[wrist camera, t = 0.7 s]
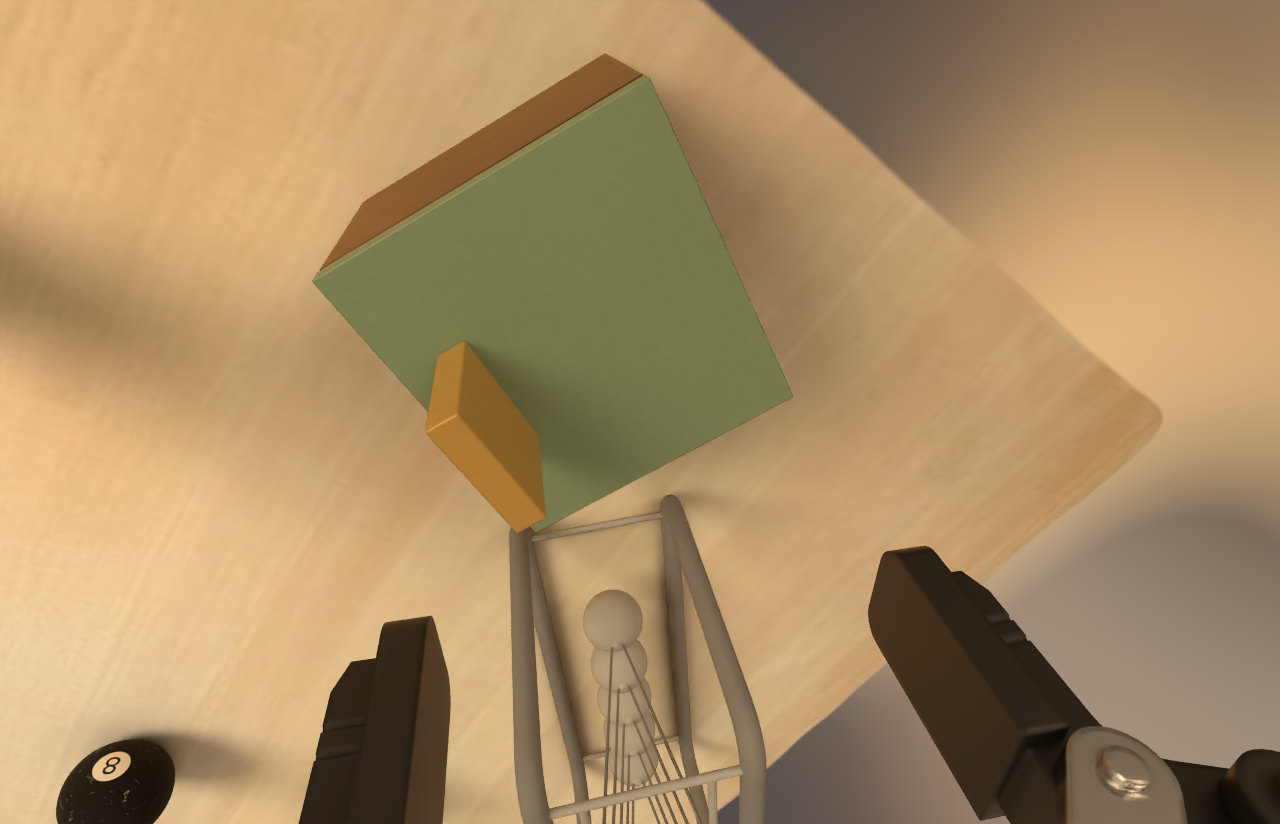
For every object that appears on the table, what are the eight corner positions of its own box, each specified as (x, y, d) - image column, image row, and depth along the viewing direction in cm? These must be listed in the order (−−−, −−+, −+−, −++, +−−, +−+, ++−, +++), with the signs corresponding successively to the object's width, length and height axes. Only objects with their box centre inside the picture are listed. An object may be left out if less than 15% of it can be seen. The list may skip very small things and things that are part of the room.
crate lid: (316, 272, 22) (266, 350, 17) (644, 74, 21) (688, 98, 16) (534, 521, 30) (541, 624, 25) (786, 387, 28) (846, 468, 23)
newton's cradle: (507, 508, 40) (513, 805, 25) (673, 478, 41) (772, 746, 27) (572, 770, 57) (599, 1043, 42) (690, 743, 58) (757, 1000, 43)
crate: (362, 202, 30) (318, 270, 22) (605, 52, 28) (643, 73, 21) (527, 414, 37) (534, 518, 30) (726, 305, 36) (784, 385, 28)
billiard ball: (184, 720, 45) (145, 811, 40) (192, 771, 48) (157, 861, 43) (79, 722, 43) (25, 817, 38) (95, 774, 46) (46, 869, 41)
